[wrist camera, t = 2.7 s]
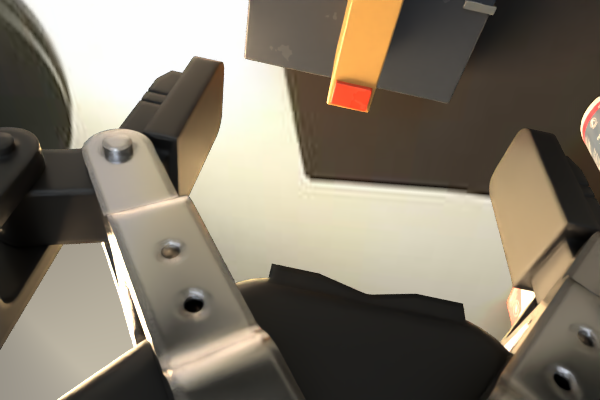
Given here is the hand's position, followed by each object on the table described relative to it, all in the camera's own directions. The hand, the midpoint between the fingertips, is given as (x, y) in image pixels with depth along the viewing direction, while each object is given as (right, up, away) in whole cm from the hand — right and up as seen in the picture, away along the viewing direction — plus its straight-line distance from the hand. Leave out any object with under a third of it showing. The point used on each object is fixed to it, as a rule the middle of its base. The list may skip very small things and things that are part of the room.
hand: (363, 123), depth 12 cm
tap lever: (+2, +8, +8) cm, 11 cm away
